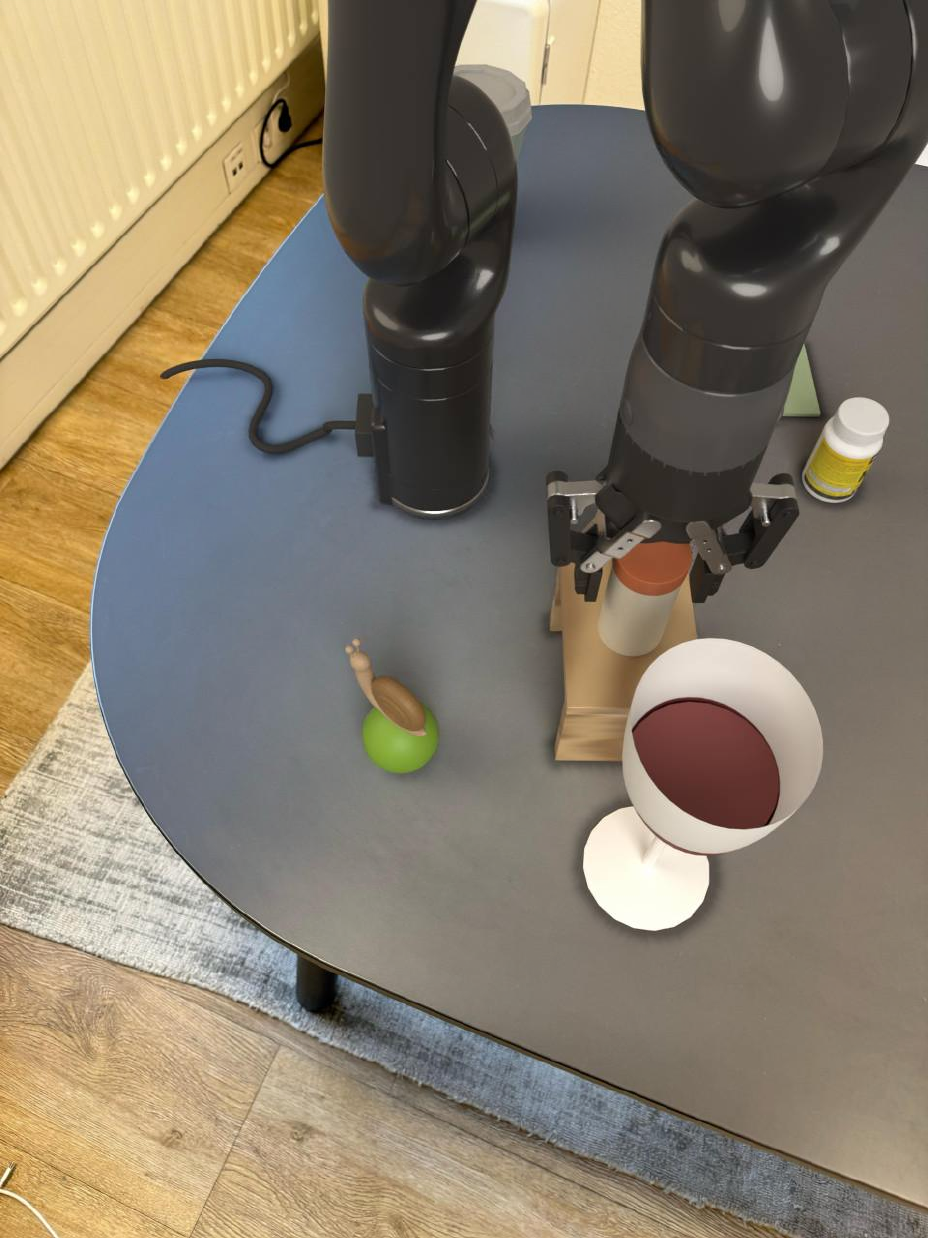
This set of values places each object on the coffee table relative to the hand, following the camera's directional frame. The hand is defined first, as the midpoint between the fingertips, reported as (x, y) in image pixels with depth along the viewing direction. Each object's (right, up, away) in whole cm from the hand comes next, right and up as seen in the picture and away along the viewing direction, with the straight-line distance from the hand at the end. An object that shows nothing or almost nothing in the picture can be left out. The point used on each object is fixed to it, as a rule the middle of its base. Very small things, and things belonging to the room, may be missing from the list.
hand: (642, 590), depth 61 cm
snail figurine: (-16, -11, +10) cm, 22 cm away
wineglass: (+1, -19, +5) cm, 20 cm away
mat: (+16, +20, +28) cm, 38 cm away
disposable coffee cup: (-10, +39, +39) cm, 56 cm away
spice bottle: (0, -2, +4) cm, 5 cm away
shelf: (0, -7, +12) cm, 14 cm away
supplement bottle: (+20, +10, +22) cm, 32 cm away
